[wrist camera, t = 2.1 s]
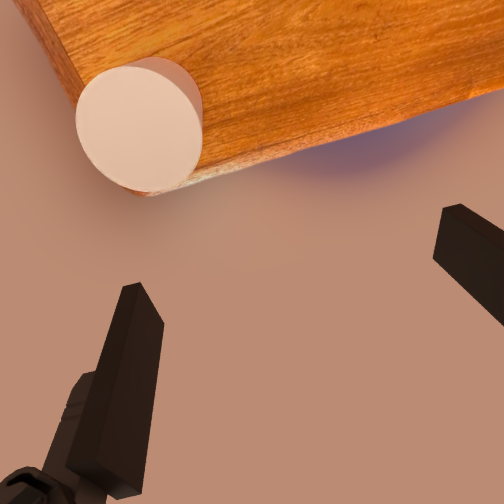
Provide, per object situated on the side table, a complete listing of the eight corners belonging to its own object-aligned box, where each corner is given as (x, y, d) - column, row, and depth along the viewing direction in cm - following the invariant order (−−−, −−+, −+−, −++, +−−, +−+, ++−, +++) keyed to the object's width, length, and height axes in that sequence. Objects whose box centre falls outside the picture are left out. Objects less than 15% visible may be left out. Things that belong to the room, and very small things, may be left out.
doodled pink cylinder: (103, 67, 28) (49, 82, 18) (189, 48, 28) (181, 53, 18) (138, 153, 32) (110, 202, 23) (211, 137, 33) (214, 178, 23)
